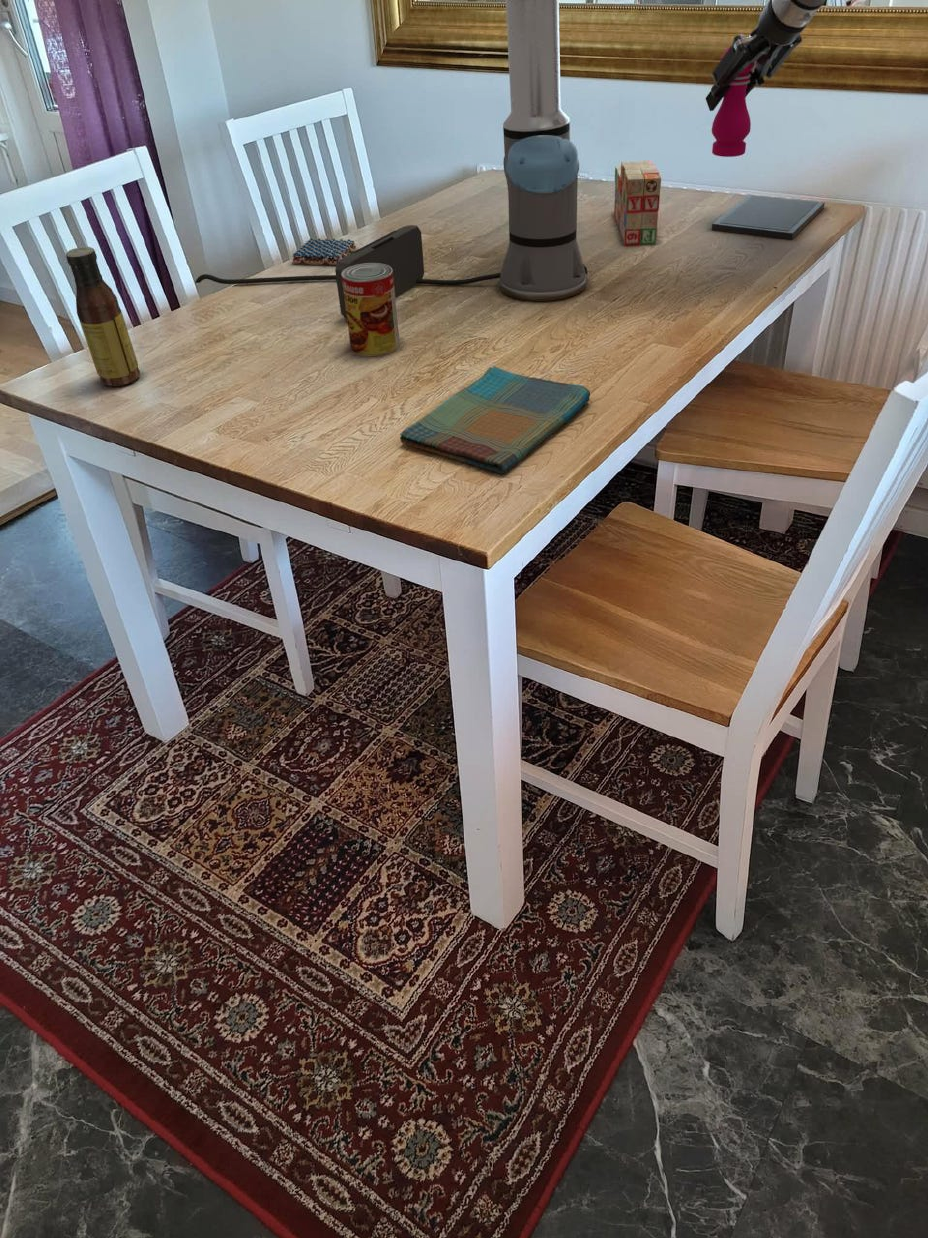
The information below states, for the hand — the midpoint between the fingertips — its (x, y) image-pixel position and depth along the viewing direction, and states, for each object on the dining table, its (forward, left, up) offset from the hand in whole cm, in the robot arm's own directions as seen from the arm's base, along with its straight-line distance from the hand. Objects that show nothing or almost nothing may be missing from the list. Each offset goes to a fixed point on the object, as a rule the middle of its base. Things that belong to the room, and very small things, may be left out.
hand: (722, 102), depth 186 cm
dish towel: (-65, -74, -21) cm, 100 cm away
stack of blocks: (-17, 0, -21) cm, 27 cm away
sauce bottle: (-117, -40, -21) cm, 125 cm away
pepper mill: (+1, -4, -8) cm, 9 cm away
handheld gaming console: (-72, -21, -21) cm, 78 cm away
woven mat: (-79, +6, -21) cm, 82 cm away
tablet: (+10, -5, -21) cm, 24 cm away
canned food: (-77, -41, -21) cm, 90 cm away
